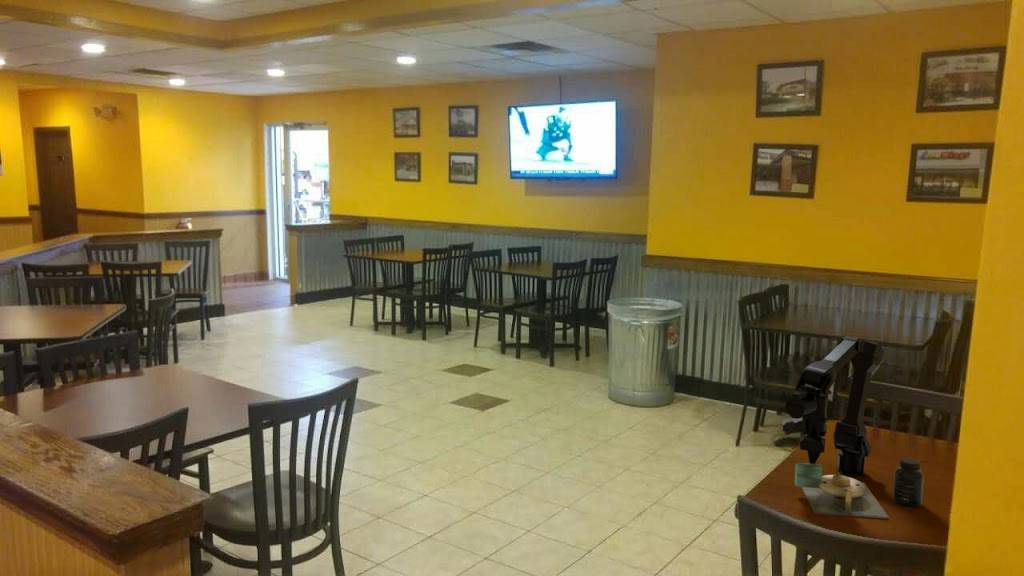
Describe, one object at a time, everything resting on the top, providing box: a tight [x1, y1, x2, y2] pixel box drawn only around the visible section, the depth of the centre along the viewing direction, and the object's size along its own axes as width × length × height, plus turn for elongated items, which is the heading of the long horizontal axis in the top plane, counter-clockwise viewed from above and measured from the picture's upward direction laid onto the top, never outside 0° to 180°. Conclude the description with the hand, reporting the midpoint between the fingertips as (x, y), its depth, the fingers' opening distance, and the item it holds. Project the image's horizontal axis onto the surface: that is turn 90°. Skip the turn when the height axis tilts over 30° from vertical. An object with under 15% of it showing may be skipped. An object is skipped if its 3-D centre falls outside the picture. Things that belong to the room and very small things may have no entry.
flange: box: [794, 462, 866, 498], centre depth 199 cm, size 18×12×6 cm
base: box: [800, 481, 890, 520], centre depth 199 cm, size 18×22×6 cm
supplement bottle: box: [892, 457, 925, 509], centre depth 196 cm, size 7×7×12 cm
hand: (811, 464), depth 205 cm, fingers closed
